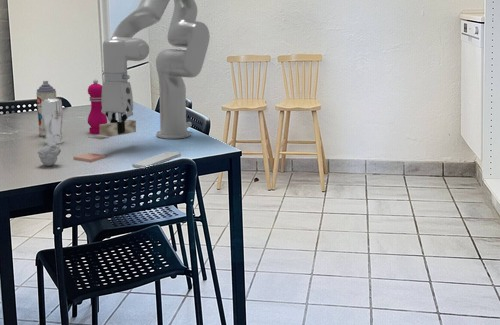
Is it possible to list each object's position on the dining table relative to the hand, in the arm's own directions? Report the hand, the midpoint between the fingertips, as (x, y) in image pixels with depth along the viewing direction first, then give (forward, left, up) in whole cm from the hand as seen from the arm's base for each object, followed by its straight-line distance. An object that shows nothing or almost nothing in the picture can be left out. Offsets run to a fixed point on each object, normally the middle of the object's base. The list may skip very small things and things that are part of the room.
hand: (117, 132), depth 220 cm
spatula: (+2, 0, -1) cm, 2 cm away
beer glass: (+2, -26, -6) cm, 27 cm away
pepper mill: (-19, -24, -6) cm, 31 cm away
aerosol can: (-6, -36, -6) cm, 37 cm away
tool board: (+7, +21, -6) cm, 22 cm away
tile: (+11, 0, -6) cm, 13 cm away
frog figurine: (+27, -4, -6) cm, 28 cm away
